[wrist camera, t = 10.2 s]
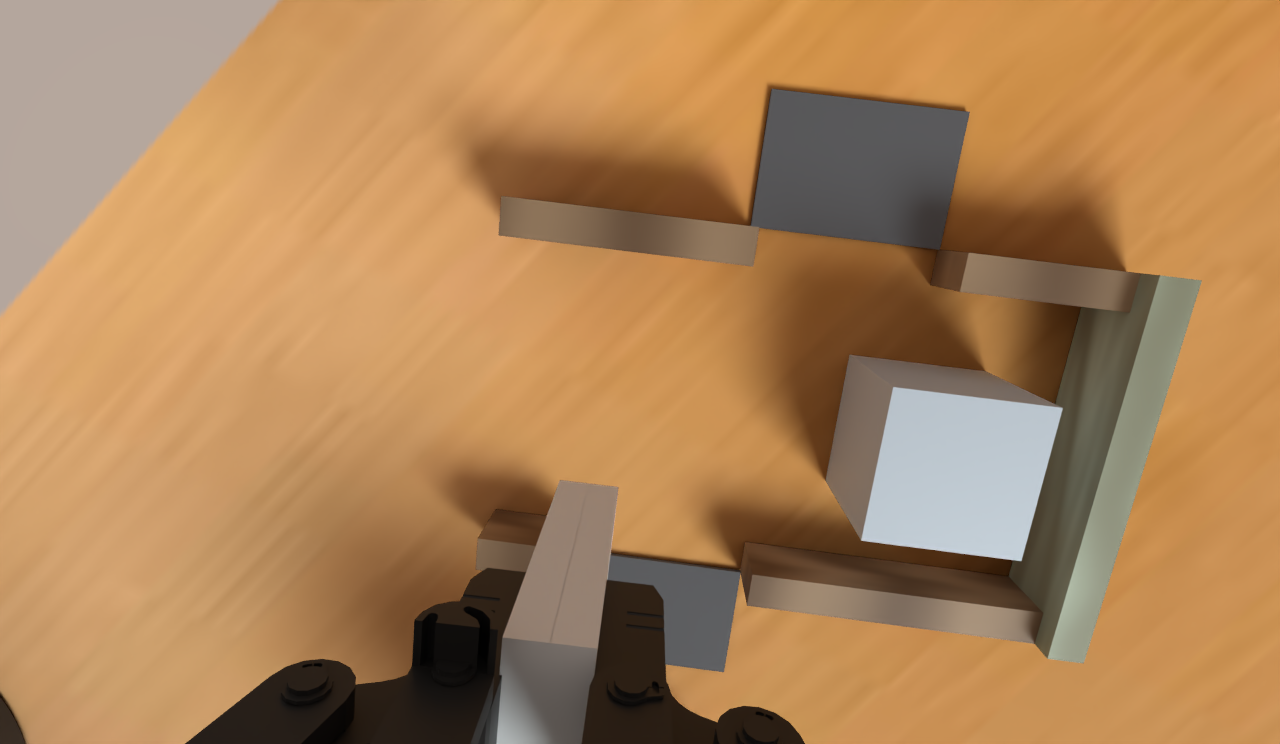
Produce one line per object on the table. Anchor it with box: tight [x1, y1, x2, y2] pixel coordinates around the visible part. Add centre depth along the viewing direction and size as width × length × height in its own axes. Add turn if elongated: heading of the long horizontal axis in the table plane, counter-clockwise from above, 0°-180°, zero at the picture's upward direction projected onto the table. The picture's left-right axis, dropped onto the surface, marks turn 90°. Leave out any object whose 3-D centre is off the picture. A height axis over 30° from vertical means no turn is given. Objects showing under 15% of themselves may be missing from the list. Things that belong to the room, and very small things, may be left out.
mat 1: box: [607, 553, 741, 672], centre depth 32 cm, size 8×6×1 cm
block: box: [825, 355, 1063, 561], centre depth 27 cm, size 6×6×6 cm
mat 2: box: [751, 89, 970, 250], centre depth 27 cm, size 8×6×1 cm
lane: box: [476, 196, 1201, 663], centre depth 28 cm, size 26×16×4 cm, turn 83°
